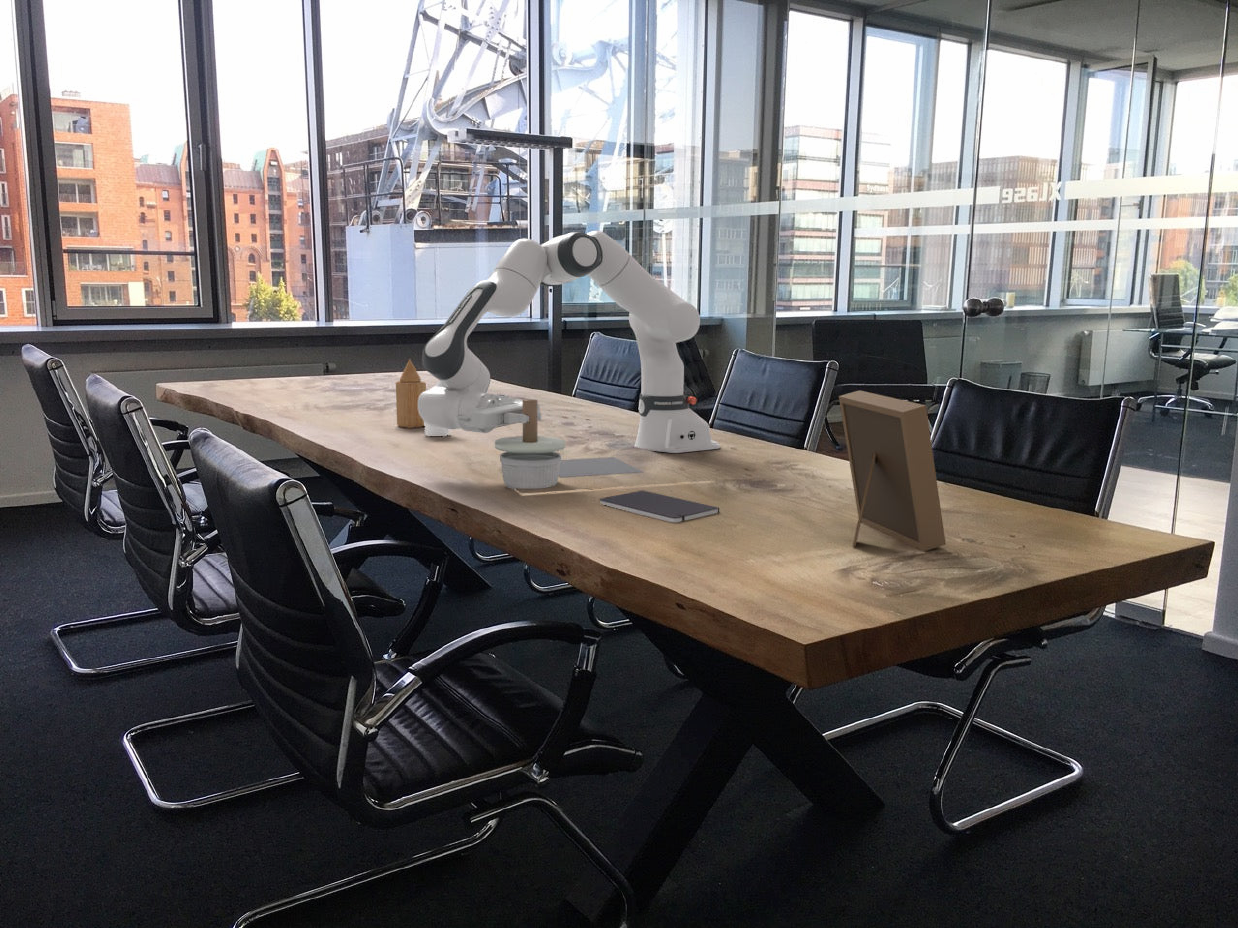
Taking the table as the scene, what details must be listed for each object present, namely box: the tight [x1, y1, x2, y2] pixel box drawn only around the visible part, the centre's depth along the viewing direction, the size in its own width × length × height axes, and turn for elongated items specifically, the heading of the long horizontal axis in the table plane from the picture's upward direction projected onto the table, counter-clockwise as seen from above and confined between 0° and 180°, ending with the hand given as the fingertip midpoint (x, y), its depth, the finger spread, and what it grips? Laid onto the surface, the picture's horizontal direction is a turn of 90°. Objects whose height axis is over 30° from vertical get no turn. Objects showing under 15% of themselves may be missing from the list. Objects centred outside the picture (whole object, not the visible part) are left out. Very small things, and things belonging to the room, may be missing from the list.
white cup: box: [424, 421, 451, 437], centre depth 291 cm, size 8×8×10 cm
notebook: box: [599, 489, 720, 523], centre depth 206 cm, size 13×2×21 cm
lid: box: [494, 398, 566, 453], centre depth 223 cm, size 15×15×10 cm
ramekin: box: [499, 451, 562, 491], centre depth 225 cm, size 13×13×7 cm
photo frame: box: [838, 389, 946, 552], centre depth 184 cm, size 15×22×25 cm
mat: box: [558, 456, 644, 478], centre depth 245 cm, size 20×20×1 cm
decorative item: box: [395, 358, 427, 429], centre depth 305 cm, size 7×7×20 cm
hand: (533, 417), depth 223 cm, fingers closed on lid, 3 cm apart
